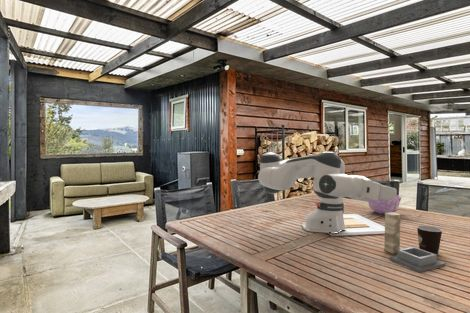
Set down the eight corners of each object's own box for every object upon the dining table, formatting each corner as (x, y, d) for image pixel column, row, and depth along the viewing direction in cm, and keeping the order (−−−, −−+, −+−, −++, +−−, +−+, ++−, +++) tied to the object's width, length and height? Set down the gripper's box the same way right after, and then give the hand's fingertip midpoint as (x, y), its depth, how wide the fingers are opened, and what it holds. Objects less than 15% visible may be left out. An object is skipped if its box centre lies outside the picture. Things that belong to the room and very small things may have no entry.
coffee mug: (442, 257, 111) (443, 233, 111) (416, 253, 116) (417, 229, 116) (439, 248, 121) (440, 225, 121) (416, 244, 126) (416, 222, 125)
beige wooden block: (392, 253, 116) (393, 215, 115) (384, 250, 120) (385, 213, 119) (399, 252, 117) (400, 214, 117) (391, 248, 121) (391, 212, 120)
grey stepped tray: (419, 272, 99) (419, 261, 99) (389, 259, 110) (389, 249, 110) (445, 265, 104) (445, 255, 104) (413, 254, 115) (414, 244, 115)
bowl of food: (407, 216, 173) (408, 198, 172) (375, 217, 173) (375, 198, 173) (390, 209, 193) (390, 192, 192) (361, 209, 193) (361, 192, 193)
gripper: (337, 189, 119) (361, 191, 124) (378, 201, 100) (405, 202, 105) (339, 174, 118) (364, 177, 124) (381, 183, 99) (407, 186, 105)
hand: (383, 189), depth 114 cm, fingers open, 8 cm apart
